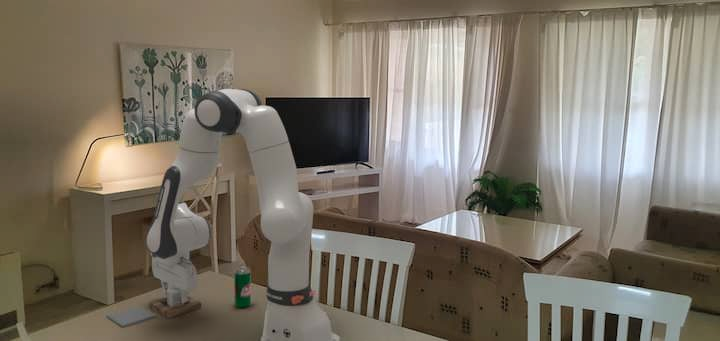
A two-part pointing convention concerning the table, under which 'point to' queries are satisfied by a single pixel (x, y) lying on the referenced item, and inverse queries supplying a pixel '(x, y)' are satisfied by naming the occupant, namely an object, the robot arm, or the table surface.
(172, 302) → the pill bottle
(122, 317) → the grey mat
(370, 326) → the table surface
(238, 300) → the soda can
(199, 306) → the frame
